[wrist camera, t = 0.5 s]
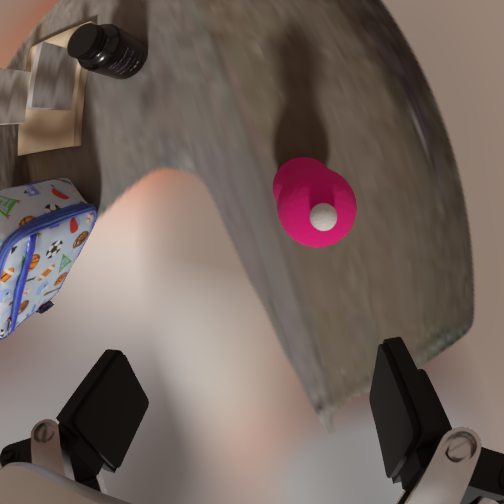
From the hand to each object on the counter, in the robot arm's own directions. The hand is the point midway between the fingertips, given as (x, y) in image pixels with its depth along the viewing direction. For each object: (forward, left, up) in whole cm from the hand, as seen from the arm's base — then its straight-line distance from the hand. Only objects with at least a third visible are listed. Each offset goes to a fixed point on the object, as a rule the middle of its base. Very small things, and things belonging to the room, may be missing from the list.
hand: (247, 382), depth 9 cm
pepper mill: (-4, +3, -30) cm, 30 cm away
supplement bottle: (-22, -23, -30) cm, 43 cm away
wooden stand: (-20, -39, -30) cm, 53 cm away
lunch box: (+8, -37, -30) cm, 48 cm away
